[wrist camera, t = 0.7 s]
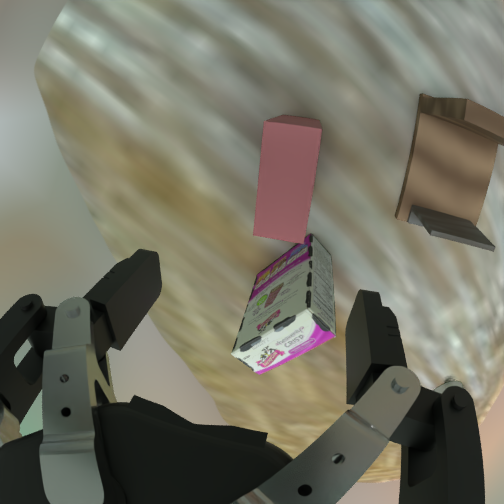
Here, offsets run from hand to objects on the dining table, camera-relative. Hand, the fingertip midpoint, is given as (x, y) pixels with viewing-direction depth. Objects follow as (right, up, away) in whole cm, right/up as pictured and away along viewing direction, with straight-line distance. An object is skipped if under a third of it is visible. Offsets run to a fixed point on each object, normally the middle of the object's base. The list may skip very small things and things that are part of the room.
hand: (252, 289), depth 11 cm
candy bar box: (+6, 0, +32) cm, 32 cm away
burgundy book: (+6, +14, +24) cm, 28 cm away
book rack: (+26, +12, +19) cm, 35 cm away
